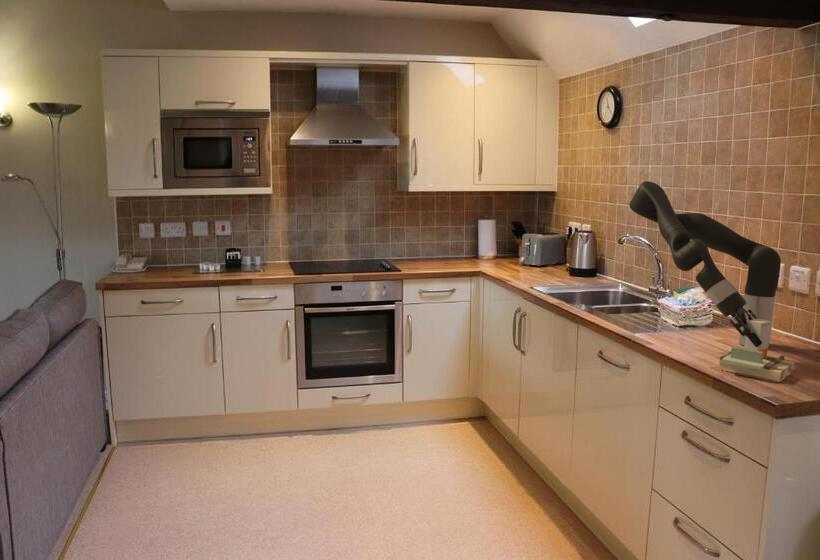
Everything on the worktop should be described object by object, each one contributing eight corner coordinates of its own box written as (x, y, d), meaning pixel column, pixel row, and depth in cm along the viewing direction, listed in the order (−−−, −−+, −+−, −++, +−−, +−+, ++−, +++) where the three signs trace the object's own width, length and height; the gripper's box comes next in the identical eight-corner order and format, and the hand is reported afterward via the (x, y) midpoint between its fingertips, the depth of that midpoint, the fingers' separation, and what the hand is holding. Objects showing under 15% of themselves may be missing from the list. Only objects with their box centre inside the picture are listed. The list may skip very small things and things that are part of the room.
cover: (731, 355, 205) (733, 343, 204) (770, 363, 198) (772, 350, 197) (721, 361, 199) (722, 348, 198) (761, 369, 192) (762, 356, 191)
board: (736, 359, 213) (738, 347, 213) (794, 371, 203) (795, 358, 202) (719, 370, 202) (720, 356, 201) (778, 382, 191) (780, 368, 190)
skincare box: (756, 363, 202) (761, 323, 200) (742, 359, 205) (747, 320, 203) (767, 360, 205) (772, 320, 203) (753, 356, 209) (757, 317, 207)
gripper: (723, 301, 216) (759, 345, 211) (707, 308, 206) (744, 354, 200) (743, 287, 212) (781, 332, 206) (728, 293, 201) (766, 340, 196)
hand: (763, 343), depth 203 cm, fingers closed on skincare box, 6 cm apart
